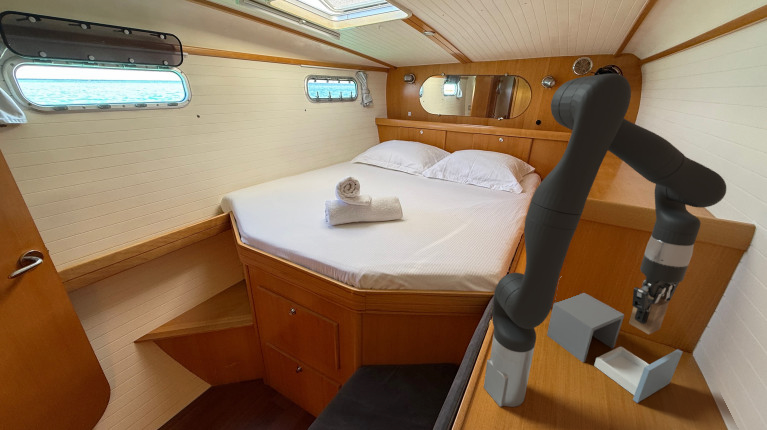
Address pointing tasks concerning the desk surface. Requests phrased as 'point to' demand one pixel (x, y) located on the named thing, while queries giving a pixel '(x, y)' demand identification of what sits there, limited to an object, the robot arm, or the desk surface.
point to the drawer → (638, 371)
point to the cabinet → (583, 324)
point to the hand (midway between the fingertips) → (646, 318)
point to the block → (651, 317)
